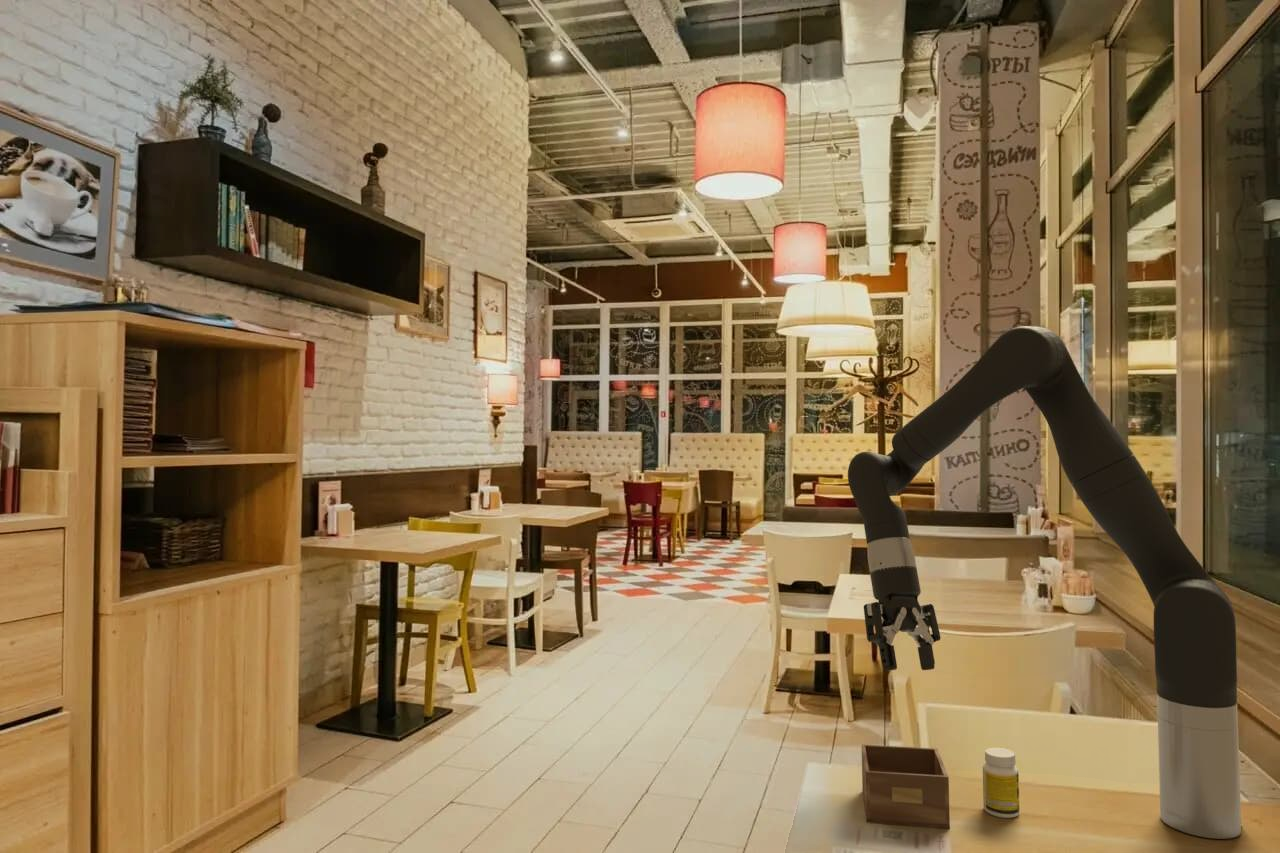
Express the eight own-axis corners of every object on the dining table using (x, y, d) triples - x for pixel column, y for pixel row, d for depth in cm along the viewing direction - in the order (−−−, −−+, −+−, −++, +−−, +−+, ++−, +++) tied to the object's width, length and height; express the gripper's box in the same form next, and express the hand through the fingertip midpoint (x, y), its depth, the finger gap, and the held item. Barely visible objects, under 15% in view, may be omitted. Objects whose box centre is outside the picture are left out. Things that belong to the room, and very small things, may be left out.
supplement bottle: (1025, 818, 118) (1023, 758, 119) (991, 819, 118) (989, 758, 119) (1011, 804, 123) (1009, 746, 123) (978, 804, 123) (976, 746, 123)
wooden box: (862, 790, 129) (861, 744, 129) (938, 795, 126) (937, 748, 127) (866, 823, 118) (865, 772, 118) (949, 829, 116) (948, 777, 116)
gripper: (878, 562, 134) (895, 668, 128) (940, 566, 141) (959, 667, 135) (845, 571, 140) (860, 673, 134) (905, 575, 147) (922, 671, 141)
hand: (909, 670), depth 135 cm, fingers open, 8 cm apart
